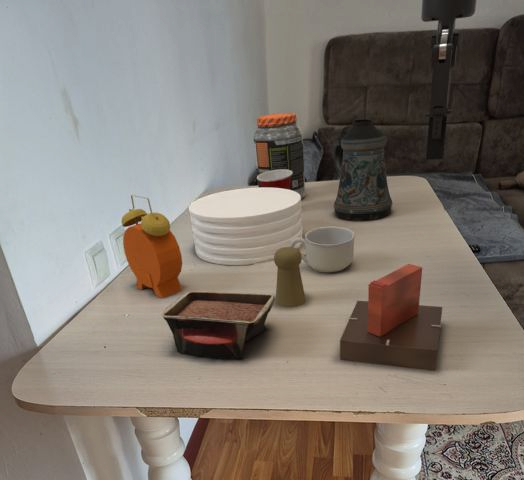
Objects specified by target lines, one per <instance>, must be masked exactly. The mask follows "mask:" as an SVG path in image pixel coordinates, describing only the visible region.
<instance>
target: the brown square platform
mask: <svg viewBox="0 0 524 480" xmlns="http://www.w3.org/2000/svg"><path fill="white" fill-rule="evenodd" d="M442 315H443V306H434V305H421V304H419V311H418V314H417V315H415V316H413V317H412V318H410V319H408V320H407V321H405V322H404V323H402V324H400V325H399V326H397V327H396V328H394V329H392V330H391V331H389V332H387V333H386V334H384V335H383V336H381V337H379V336H377V335H374V334H372V333H369V332H367V326H368V300H357V301H356V303H355V305H354V307H353V309H352V312H351V314H350V316H349V317H348V322H347V324H346V326H345V329H344V330H343V332H342V335H341V338H340V340H339V355H340V356H339V360H340V361H345V362H356V363H362V364H370V365H371V364H372V365H381V366H387V367H388V366H389V367H398V368H405V369H415V370H423V371H431V372H436V368H437V359H438V352H439V343H440V333H441V328H442V324H441V323H442Z"/></svg>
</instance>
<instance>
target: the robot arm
mask: <svg viewBox="0 0 524 480" xmlns="http://www.w3.org/2000/svg"><path fill="white" fill-rule="evenodd" d="M476 7H477V0H422V3H421V14H420V15H421V16H420V18H421V21H422V22H424V23H428V22H429V23H430V22H431V23H432V22H437V31H436V35H431V37H430V39H431V40H430V49H431V59H430V68H431V69H432V74H431V76H432V77H431V90H430V103H429V109H428V112H426V113H425V115H424V118H425V119H428V129H427V140H426V141H427V142H426V153H425V160H426V161H427V160H428V161H429V160H444V152H445V144H446V135H447V134H446V132H447V125H448V124H447V123H448V121H447V120H448V115H452V113H453V109H449V106H450V103H449V97H450V89H451V79H452V70H453V67H455V65H456V58H457V48H458V46H459V45H460V36H461V33H460V32H456V31H455V30H456V20H457V19H466V18H469V17H473V16H474V14H475V13H476Z"/></svg>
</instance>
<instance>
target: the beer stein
mask: <svg viewBox="0 0 524 480" xmlns="http://www.w3.org/2000/svg"><path fill="white" fill-rule="evenodd" d="M387 141H388V137H387V136H386V134H385V133H384V132H383V131H382V130H380V129H378V128H377V127H376V126H375V124H373V122H372V119H355V120H353V122H352V124H351V125H345V126H344V127H342V129H341V131H340V136H339V137H338V138H337V139H336V140H335V144H334V145H333V149H332V159H333V163H334V166H335V169H336V172H337V174H338V176H339V182H338V189H337V192H336V198H335V201H334V203H333V209H334V213H335V217H336V218H338V219H340V220H343V221H347V222H372V221H379V220H382V219H384V218H387V217H389V216H390V214H391V210H392V206H393V200H392V197H391V194H390V190H389V185H388V178H387V168H386V167H387V166H386V159H385V147H386V144H387Z"/></svg>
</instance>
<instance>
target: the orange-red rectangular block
mask: <svg viewBox="0 0 524 480" xmlns="http://www.w3.org/2000/svg"><path fill="white" fill-rule="evenodd" d="M422 276H423V267H422V266H420V265H415V264H412V263H407V264H405V265H403V266H402V267H400V268H397V269H396V270H393V271H392V272H390V273H388V274H386V275H384V276H382V277H380V278H378V279H377V280H375V279H374V280H373V281H370V282H369V283H368V293H367V294H368V295H367V296H368V297H367V301H368V326H367V332H369V333H372V334H374V335H377V336H379V337H381V336H383V335H384V334H386V333H387V332H389V331H391V330H392V329H394V328H396V327H397V326H399V325H400V324H402V323H404V322H405V321H407V320H408V319H410V318H412V317H413V316H415V315H417V314H418V311H419V305H420V301H421V289H422V287H421V286H422Z"/></svg>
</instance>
